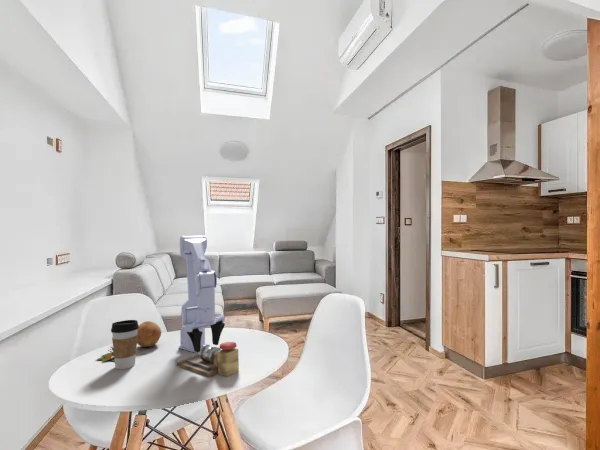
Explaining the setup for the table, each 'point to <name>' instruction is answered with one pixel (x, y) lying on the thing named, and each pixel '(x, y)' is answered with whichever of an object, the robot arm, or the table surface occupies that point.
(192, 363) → the slider rig
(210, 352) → the pipe coupling
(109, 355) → the lily flower
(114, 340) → the coffee cup
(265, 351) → the table surface
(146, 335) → the onion
